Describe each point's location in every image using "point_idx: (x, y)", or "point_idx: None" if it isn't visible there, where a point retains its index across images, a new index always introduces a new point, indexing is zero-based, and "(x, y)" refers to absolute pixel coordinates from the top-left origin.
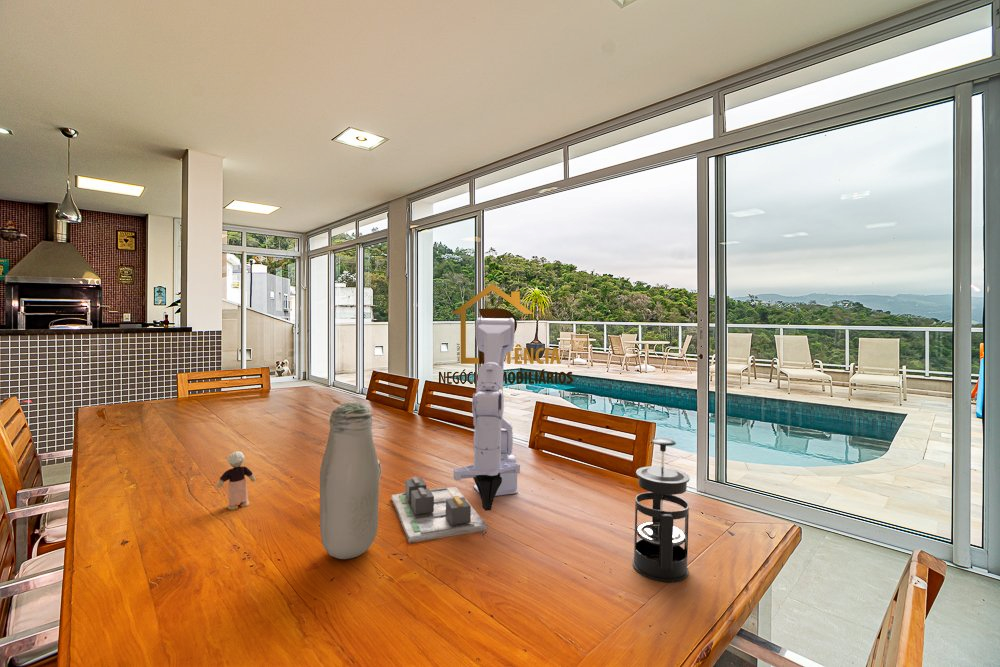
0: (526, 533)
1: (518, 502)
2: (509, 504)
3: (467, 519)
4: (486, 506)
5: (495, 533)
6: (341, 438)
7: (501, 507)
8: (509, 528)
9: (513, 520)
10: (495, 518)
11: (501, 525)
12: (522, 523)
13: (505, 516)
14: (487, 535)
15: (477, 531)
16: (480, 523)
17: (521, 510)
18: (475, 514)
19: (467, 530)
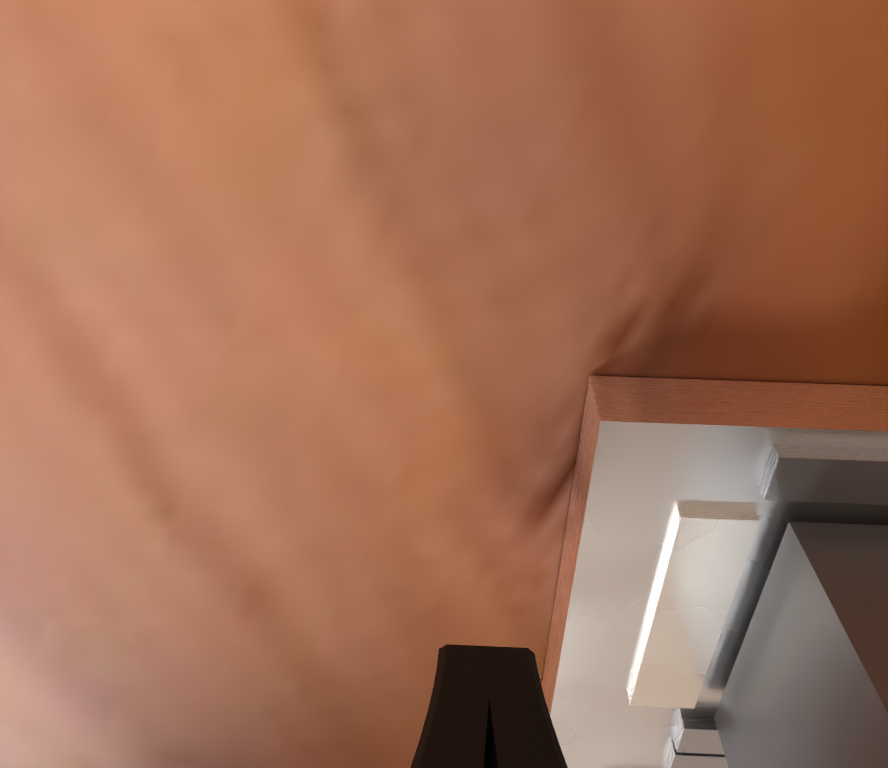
0: (55, 96)
1: (30, 748)
2: (126, 744)
3: (856, 559)
4: (530, 703)
5: (509, 264)
6: None
7: (220, 724)
8: (270, 326)
9: (163, 484)
10: (355, 579)
11: (346, 428)
12: (63, 388)
13: (231, 582)
14: (642, 250)
15: (715, 383)
16: (657, 475)
17: (24, 631)
18: (587, 667)
19: (873, 408)
